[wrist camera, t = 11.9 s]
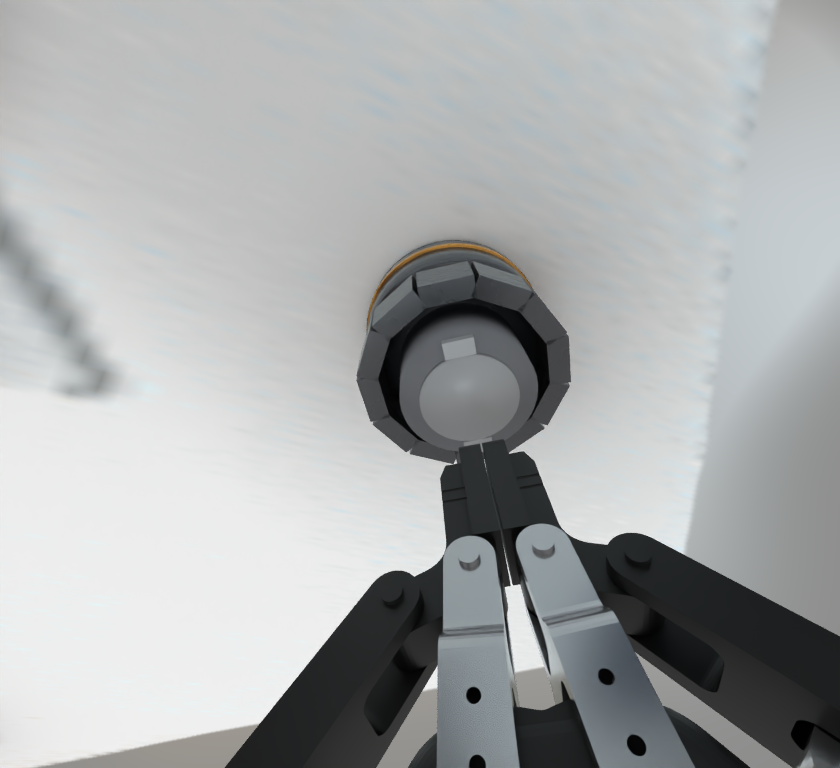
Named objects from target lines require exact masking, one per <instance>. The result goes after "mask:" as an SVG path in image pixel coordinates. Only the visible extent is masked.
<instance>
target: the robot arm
mask: <svg viewBox="0 0 840 768" xmlns="http://www.w3.org/2000/svg"><path fill="white" fill-rule="evenodd" d="M482 448H483V453H484V458H483V454H482V450H481V446H480V443H479V444H474V445H469V446H463V447H458V449H459V455H460V461H461V463H459V464H453V465H448V466H445V468H444V471H443V473H442V475H441V478H440V481H441V491H442V501H443V511H444V522H445V532H446V550H445V553H444V555H443V557H442V558H441V560H440V561H439V562H438V563H437V564H436V565H435V566H433V567H432V568H430V569H429V570H427V571H425V572H423V573H421V574H419V575H417V576H415V577H414V576H413V575H411V574H410V573H407V572H405V571H391V572H388V573H386V574H384V575H382V576H380V577H379V578H378V579H377V580H376V581H375V582H374V583H373V584H372V585H371V586H370V588H369V589H368V590H367V591H366V593H365V594H364V595H363V596H362V598H361V599H360V600H359V601H358V603H357V604H356V605H355V606H354V608H353V609H352V610H351V611H350V613H349V614H348V615H347V616H346V618H345V619H344V620H343V621H342V622H341V624H340V625H339V626H338V627H337V629H336V630H335V631H334V632H333V634H332V635H331V636H330V637H329V639H328V640H327V641H326V642H325V644H324V645H323V646H322V647H321V649H320V650H319V651H318V652H317V654H316V655H315V656H314V657H313V659H312V660H311V661H310V662H309V663H308V665H307V666H306V667H305V668H304V670H303V671H302V672H301V673H300V675H299V676H298V677H297V678H296V680H295V681H294V682H293V683H292V685H291V686H290V687H289V688H288V690H287V691H286V692H285V693H284V695H283V696H282V697H281V698H280V699H279V701H278V702H277V703H276V704H275V706H274V707H273V708H272V709H271V711H270V712H269V713H268V714H267V716H266V717H265V718H264V719H263V721H262V722H261V723H260V724H259V726H258V727H257V728H256V729H255V731H254V732H253V733H252V734H251V736H250V737H249V738H248V739H247V741H246V742H245V743H244V744H243V745H242V747H241V748H240V749H239V751H238V752H237V753H236V754H235V756H234V757H233V758H232V759H231V761H230V762H229V763H228V764H227V765H226V767H225V768H376V767H377V765H378V764H379V762H380V760H381V759H382V757H383V755H384V754H385V752H386V750H387V749H388V747H389V745H390V743H391V742H392V740H393V738H394V737H395V735H396V734H397V732H398V730H399V729H400V727H401V725H402V723H403V722H404V720H405V718H406V717H407V715H408V714H409V712H410V710H411V709H412V707H413V705H414V704H415V702H416V700H417V699H418V697H419V695H420V694H421V692H422V690H423V689H424V687H425V685H426V684H427V682H428V680H429V679H430V677H431V675H432V674H433V672H434V670H435V669H436V667H437V665H438V693H437V694H438V695H437V696H438V697H437V733H436V734H435V735H433V736H432V737H431V738H430V739H429V740H428V741H427V742H426V743H425V744H424V745H423V747H422V748H421V749H420V750H419V751H418V753H417V754H416V756H415V757H414V759H413V760H412V761H411V763H410V765H409V767H408V768H750V767H749V766H748V765H746V764H745V763H744V762H743V761H741V760H740V759H739V758H738V757H737V756H735V755H734V754H733V753H732V752H730V751H729V750H728V749H727V748H725V747H724V746H723V745H722V744H721V743H719V742H718V741H717V740H716V739H714V738H713V737H712V736H711V735H710V734H708V733H707V732H706V731H705V730H703V729H702V728H701V727H700V726H698V725H697V724H695V723H694V722H692V721H691V720H689V719H688V718H686V717H685V716H683V715H681V714H680V713H678V712H676V711H674V710H672V709H670V708H667V707H665V706H663V705H662V703H661V701H660V699H659V697H658V695H657V694H656V692H655V690H654V688H653V686H652V684H651V682H650V680H649V678H648V676H647V674H646V673H645V670H644V669H643V667H642V665H641V663H640V661H639V659H638V657H637V655H636V653H637V654H639V655H640V656H641V657H643V658H644V659H645V660H647V661H648V662H650V663H651V664H652V665H654V666H655V667H657V668H658V669H659V670H660V671H662V672H663V673H665V674H666V675H667V676H669V677H670V678H671V679H673V680H674V681H675V682H677V683H678V684H680V685H681V686H682V687H684V688H685V689H686V690H688V691H689V692H691V693H692V694H693V695H694V696H696V697H697V698H699V699H700V700H701V701H703V702H704V703H705V704H707V705H708V706H710V707H711V708H712V709H714V710H715V711H716V712H718V713H719V714H720V715H722V716H723V717H724V718H726V719H727V720H729V721H730V722H731V723H733V724H734V725H735V726H737V727H738V728H740V729H741V730H742V731H744V732H745V733H746V734H748V735H749V736H750V737H752V738H753V739H755V740H756V741H757V742H759V743H760V744H761V745H763V746H764V747H765V748H767V749H768V750H769V751H771V752H772V753H773V754H775V755H776V756H778V757H779V758H780V759H782V760H783V761H784V762H786V763H787V764H789V765H790V766H791V767H793V768H840V636H838V635H836V634H834V633H832V632H830V631H828V630H826V629H824V628H823V627H821V626H819V625H817V624H815V623H813V622H811V621H809V620H807V619H805V618H803V617H802V616H800V615H798V614H796V613H794V612H792V611H790V610H788V609H786V608H784V607H782V606H781V605H779V604H777V603H775V602H773V601H771V600H769V599H767V598H765V597H763V596H762V595H760V594H758V593H756V592H754V591H752V590H750V589H748V588H746V587H744V586H742V585H741V584H739V583H737V582H735V581H733V580H731V579H729V578H727V577H725V576H723V575H721V574H719V573H718V572H716V571H714V570H712V569H710V568H708V567H706V566H704V565H702V564H700V563H698V562H697V561H695V560H693V559H691V558H689V557H687V556H685V555H683V554H681V553H679V552H678V551H676V550H674V549H672V548H670V547H668V546H666V545H664V544H662V543H660V542H658V541H657V540H655V539H653V538H651V537H648V536H646V535H643V534H638V533H625V534H621V535H618V536H616V537H614V538H613V539H612V540H611V541H610V542H609V544H608V545H603V544H594V543H587V542H583V541H579V540H577V539H575V538H573V537H571V536H569V535H568V534H567V533H566V532H565V531H564V530H563V529H562V528H561V527H560V525H559V523H558V521H557V518H556V516H555V513H554V511H553V508H552V505H551V503H550V500H549V498H548V495H547V493H546V490H545V487H544V486H543V482H542V480H541V477H540V476H539V472H538V470H537V467H536V464H535V462H534V460H533V459H531V458H530V457H529V456H528V455H527V454H526V453H525V452H524V451H523V452H517V453H512V454H509V453H508V450H507V447H506V444H505V441H504V439H500V440H494V441H489V442H484V443H482ZM484 459H485V463H484ZM485 464H486V467H485ZM486 470H487V471H486ZM503 545H504V547H503ZM504 550H505V552H504ZM505 554H506V558H507V562H508V567H509V571H510V575H511V579H512V584H513V585H518V584H521V588H522V592H523V596H524V601H525V607H526V612H527V615H528V618H529V621H530V624H531V627H532V630H533V633H534V636H535V639H536V642H537V645H538V648H539V651H540V654H541V657H542V660H543V663H544V666H545V669H546V672H547V675H548V678H549V682H550V685H551V688H552V692H553V697H554V701H555V704H556V705H555V706H553V707H551V708H549V709H546V710H534V709H528V708H522V707H520V704H519V698H518V692H517V684H516V678H515V669H514V661H513V654H512V646H511V638H510V631H509V623H508V616H507V611H508V603H507V598H506V593H505V587H507V586H511V585H510V580H509V574H508V569H507V563H506V558H505ZM635 652H636V653H635Z"/></svg>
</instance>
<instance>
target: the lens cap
mask: <svg viewBox="0 0 840 768" xmlns="http://www.w3.org/2000/svg"><path fill="white" fill-rule="evenodd" d="M537 395H538V381H537V375H536V372H535V370H534V367H533V365H532V363H531V362H530V360H529V358H528V356H527V354H526V352H525V351H524V349H523V347H522V345H521V343H520V341H519V340H518V338H517V336H516V334H515V332H514V330H513V328H512V327H511V326H510V324H509V323H508V322H507V321H506V320H505V319H504V318H503V317H502V316H501V315H499V314H498V313H497V312H495V311H493V310H491V309H489V308H487V307H484V306H481V305H477V304H470V303H456V304H450V305H446V306H443V307H440V308H437V309H435V310H433V311H431V312H429V313H428V314H426V315H425V316H423V317H422V318H421V319H420V320H419V321H418V322H417V323H416V324H415V325H414V326H413V327H412V328H411V330H410V331H409V333H408V334H407V336H406V338H405V340H404V343H403V346H402V350H401V358H400V406H401V410H402V413H403V416H404V418H405V420H406V422H407V424H408V425H409V426H410V428H411V429H412V430H413V431H414V432H415V433H416V434H417V435H418V436H419V437H421V438H422V439H423V440H425V441H426V442H428V443H430V444H432V445H434V446H437V447H439V448H443V449H446V450H452V451H459V449H458V447H463V446H469V445H474V444H479V443H480V446H481V450H482V452H483V448H482V443H484V442H489V441H494V440H500V439H504V441H505V440H506V439H508V438H509V437H511V436H512V435H513V434H515V433H516V432H517V431H518V430H519V429H520V428H521V427H522V426H523V425H524V424H525V422H526V421H527V420H528V418H529V417H530V415H531V413H532V411H533V409H534V407H535V404H536V400H537Z"/></svg>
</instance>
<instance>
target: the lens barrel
mask: <svg viewBox="0 0 840 768" xmlns="http://www.w3.org/2000/svg"><path fill="white" fill-rule="evenodd" d="M456 303H470V304H477V305H481V306H484V307H487V308H489V309H491V310H493V311H495V312H497V313H498V314H499V315H501V316H502V317H503V318H504V319H505V320H506V321H507V322H508V323H509V324H510V326H511V327H512V328H513V330H514V332H515V334H516V336H517V338H518V340H519V341H520V343H521V345H522V347H523V349H524V351H525V352H526V354H527V356H528V358H529V360H530V362H531V363H532V365H533V367H534V370H535V372H536V375H537V381H538V395H537V400H536V404H535V407H534V409H533V411H532V413H531V415H530V417H529V418H528V420H527V421H526V422H525V424H524V425H523V426H522V427H521V428H520V429H519V430H518V431H517V432H516V433H515V434H513V435H512V436H511V437H509V438H508V439H506V440H505V444H506V447H507V450H508V453H509V452H510V451H512V450H513V449H515V448H516V447H518V446H519V445H521V444H522V443H524V442H525V441H526V440H528V439H529V438H531V437H532V436H534V435H535V434H537V433H538V432H540V431H541V430H543V429H544V426H543V424H545V425H548V424H549V422H550V420H551V418H552V416H553V415H554V413H555V411H556V409H557V408H558V406H559V404H560V402H561V400H562V399H563V397H564V395H565V393H566V392H567V390H568V388H569V386H570V385H569V384H568V382H571V375H570V355H569V336H568V335H567V334H566V333H567V332H566V330H565V329H564V328H563V327H562V325H561V324H560V323H559V322H558V320H557V319H556V318H555V317H554V315H553V314H552V313H551V312H550V310H549V309H548V308H547V307H546V305H545V304H544V303H543V302H542V300H541V299H540V298H539V297H538V295H537V294H536V293H535V292H534V290H533V289H532V287H531V285H530V283H529V282H528V280H527V279H526V277H525V276H524V275H523V273H522V272H521V271H520V270H519V269H518V268H517V267H516V266H515V265H514V264H513V263H512V262H511V261H509V260H508V259H507V258H506V257H504V256H502V255H501V254H499V253H497V252H496V251H494V250H492V249H491V248H488V247H486V246H483V245H481V244H477V243H473V242H468V241H459V240H457V241H442V242H436V243H432V244H429V245H426V246H423V247H421V248H419V249H416V250H414V251H412V252H411V253H409V254H408V255H406V256H404V257H403V258H402V259H401V260H399V261H398V262H397V263H396V264H395V265H394V266H393V267H392V268H391V269H390V270H389V271H388V272H387V274H386V275H385V277H384V278H383V279H382V281H381V283H380V285H379V286H378V288H377V290H376V292H375V294H374V296H373V299H372V302H371V304H370V308H369V313H368V318H367V334H366V338H365V341H364V345H363V349H362V352H361V356H360V361H359V366H358V371H357V383H358V386H359V389H360V392H361V395H362V398H363V401H364V404H365V407H366V409H367V412H368V415H369V418H370V421H373V425H374V426H375V427H376V428H377V429H379V430H380V431H381V432H382V433H383V434H385V435H386V436H387V437H388V438H389V439H391V440H392V441H393V442H394V443H396V444H397V445H398V446H399V447H400V448H402V449H403V450H404V451H405V452H407V451H409V450H410V454H412V455H416V456H421V457H425V458H429V459H434V460H438V461H443V462H447V463H451V464H454V461H455V459H456V460H457V464H459V463H461V461H460V455H459V451H452V450H446V449H443V448H439V447H437V446H434V445H432V444H430V443H428V442H426V441H425V440H423V439H422V438H421V437H419V436H418V435H417V434H416V433H415V432H414V431H413V430H412V429H411V428H410V426H409V425H408V424H407V422H406V420H405V418H404V416H403V413H402V410H401V406H400V358H401V350H402V346H403V343H404V340H405V338H406V336H407V334H408V333H409V331H410V330H411V328H412V327H413V326H414V325H415V324H416V323H417V322H418V321H419V320H420V319H421V318H422V317H423V316H425V315H426V314H428V313H429V312H431V311H433V310H435V309H437V308H440V307H443V306H446V305H450V304H456ZM482 454H483V458H484V453H483V452H482Z"/></svg>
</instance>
